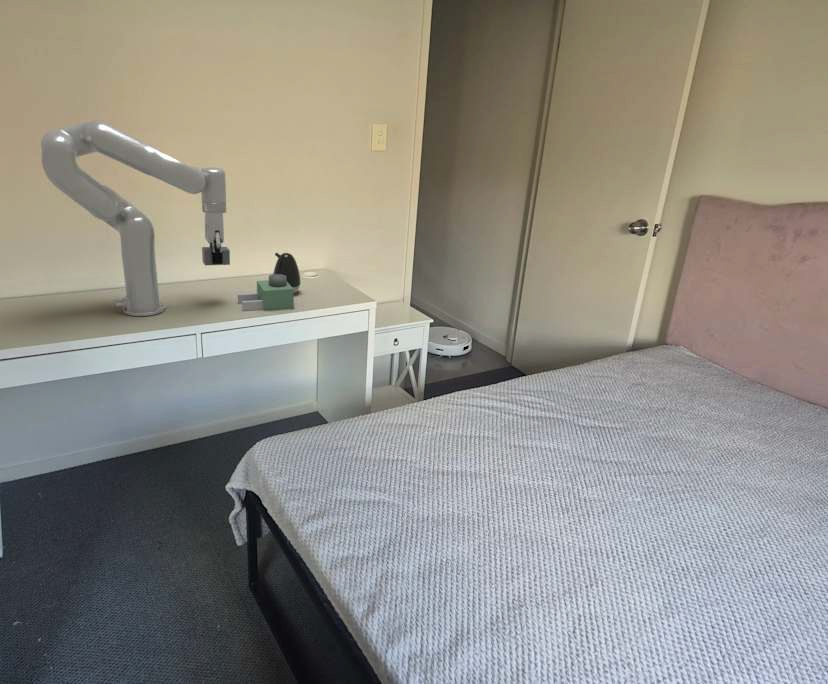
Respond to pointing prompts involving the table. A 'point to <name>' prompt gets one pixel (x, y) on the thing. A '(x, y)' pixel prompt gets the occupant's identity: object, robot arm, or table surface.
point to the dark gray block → (208, 256)
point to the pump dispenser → (288, 269)
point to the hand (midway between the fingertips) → (216, 261)
